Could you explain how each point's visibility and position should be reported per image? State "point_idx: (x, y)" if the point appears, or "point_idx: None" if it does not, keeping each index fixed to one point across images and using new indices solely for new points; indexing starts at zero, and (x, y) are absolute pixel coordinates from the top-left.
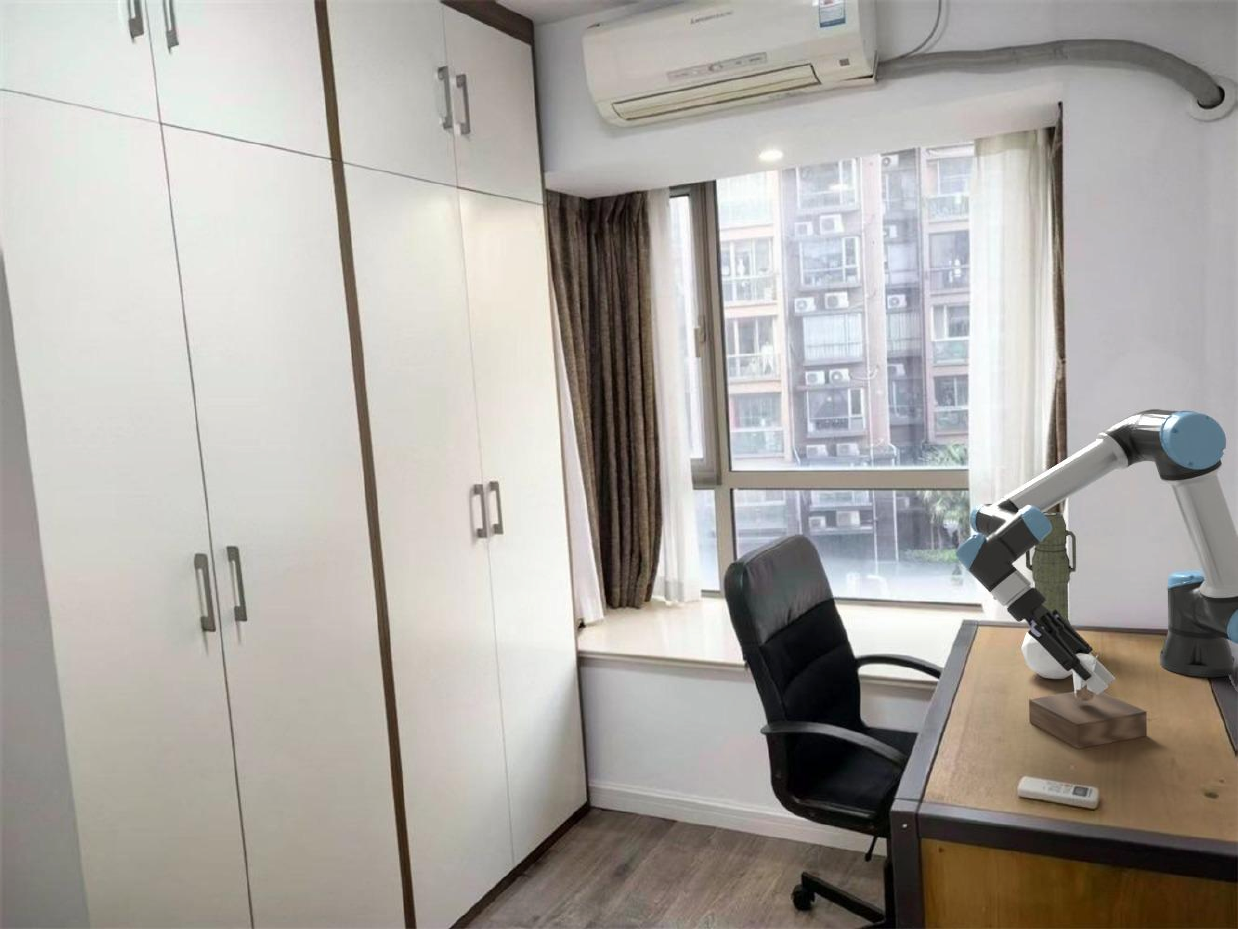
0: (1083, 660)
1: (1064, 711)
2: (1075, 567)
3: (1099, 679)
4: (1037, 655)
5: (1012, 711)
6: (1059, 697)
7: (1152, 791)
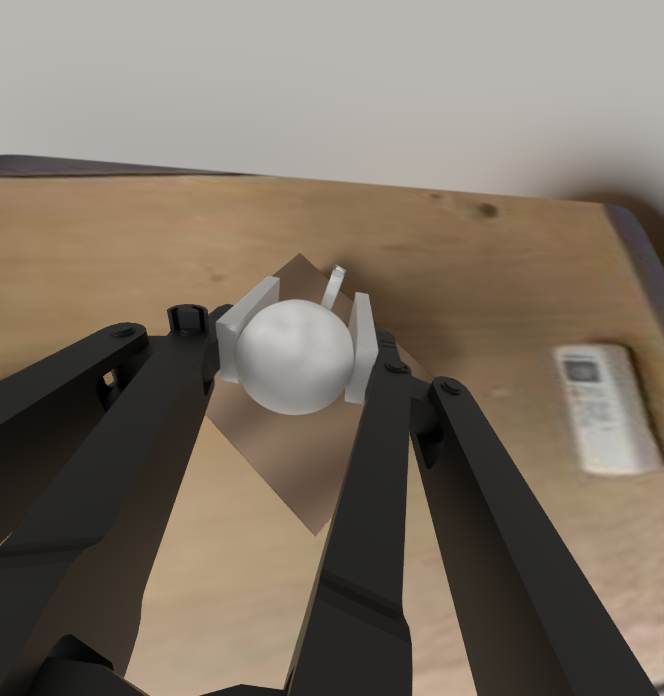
0: (345, 347)
1: None
2: None
3: (370, 306)
4: None
5: (254, 565)
6: (268, 449)
7: (520, 275)
